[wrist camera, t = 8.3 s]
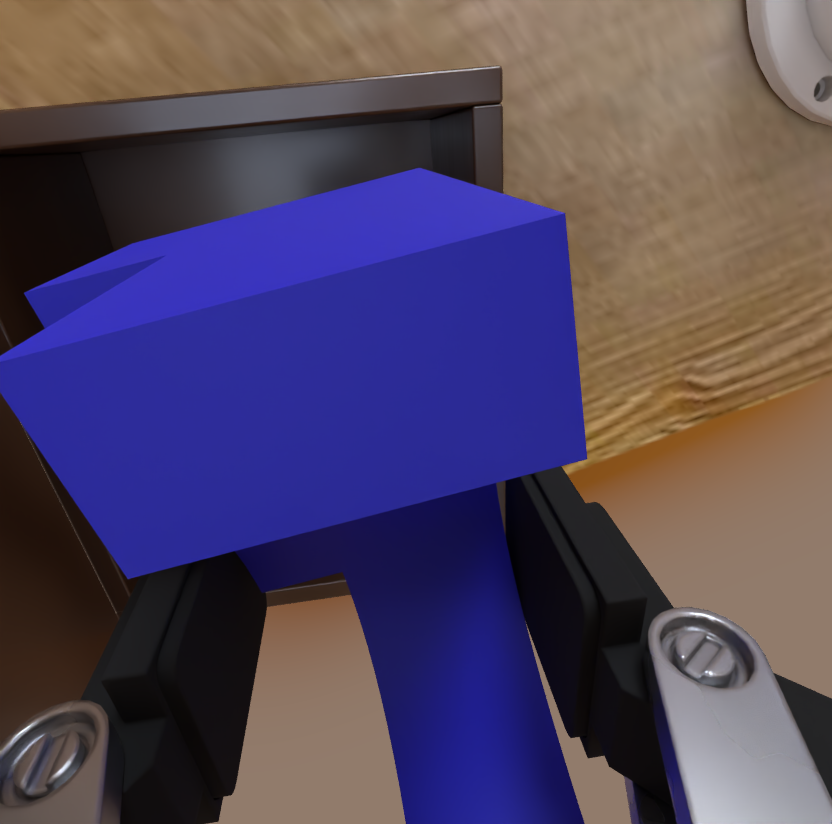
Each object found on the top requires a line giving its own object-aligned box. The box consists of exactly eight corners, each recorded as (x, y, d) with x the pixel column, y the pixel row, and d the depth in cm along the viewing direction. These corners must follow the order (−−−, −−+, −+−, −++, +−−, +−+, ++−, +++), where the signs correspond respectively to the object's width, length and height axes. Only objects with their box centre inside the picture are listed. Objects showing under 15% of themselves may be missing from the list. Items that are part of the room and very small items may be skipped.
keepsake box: (445, 94, 20) (503, 64, 13) (463, 453, 28) (506, 572, 20) (60, 130, 20) (-132, 121, 12) (188, 490, 27) (122, 628, 19)
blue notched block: (131, 243, 8) (-309, 442, 3) (419, 168, 8) (565, 214, 3) (354, 709, 14) (358, 1075, 8) (523, 666, 13) (636, 1004, 8)
